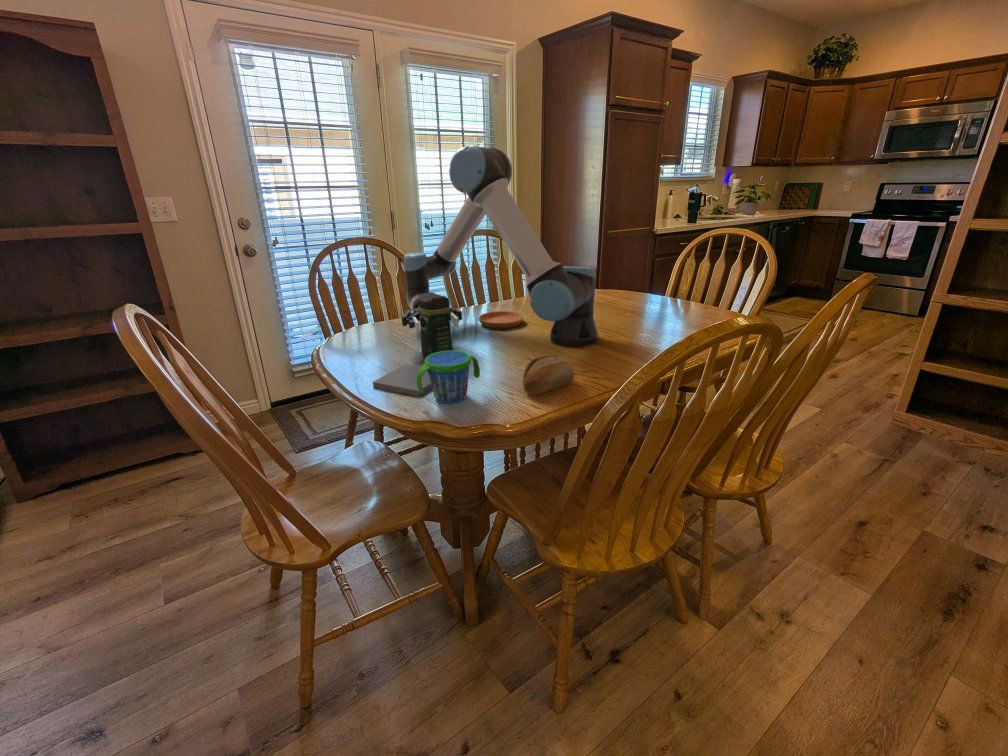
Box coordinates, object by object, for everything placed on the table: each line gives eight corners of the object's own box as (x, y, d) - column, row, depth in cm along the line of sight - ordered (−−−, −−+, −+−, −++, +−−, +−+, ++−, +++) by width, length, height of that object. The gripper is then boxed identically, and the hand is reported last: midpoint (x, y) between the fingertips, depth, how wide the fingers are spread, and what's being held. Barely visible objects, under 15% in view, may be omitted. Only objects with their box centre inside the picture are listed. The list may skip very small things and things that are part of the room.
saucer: (527, 329, 163) (527, 320, 162) (481, 332, 161) (481, 323, 160) (518, 317, 178) (518, 309, 176) (476, 320, 175) (476, 312, 174)
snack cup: (426, 414, 103) (422, 371, 100) (411, 397, 112) (407, 356, 108) (490, 398, 110) (488, 358, 106) (471, 383, 119) (469, 345, 115)
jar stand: (450, 376, 124) (450, 370, 123) (419, 396, 112) (418, 390, 111) (407, 368, 129) (406, 363, 129) (373, 387, 118) (372, 381, 117)
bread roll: (511, 391, 114) (511, 360, 111) (553, 374, 123) (554, 346, 120) (540, 403, 107) (540, 371, 104) (582, 385, 117) (583, 355, 113)
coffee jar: (457, 357, 137) (453, 294, 130) (433, 363, 133) (427, 298, 126) (441, 349, 144) (437, 289, 137) (418, 354, 140) (412, 292, 133)
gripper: (459, 315, 155) (477, 333, 136) (389, 322, 148) (397, 343, 129) (458, 292, 152) (476, 308, 133) (386, 299, 145) (394, 316, 126)
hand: (437, 325), depth 131 cm, fingers open, 10 cm apart
